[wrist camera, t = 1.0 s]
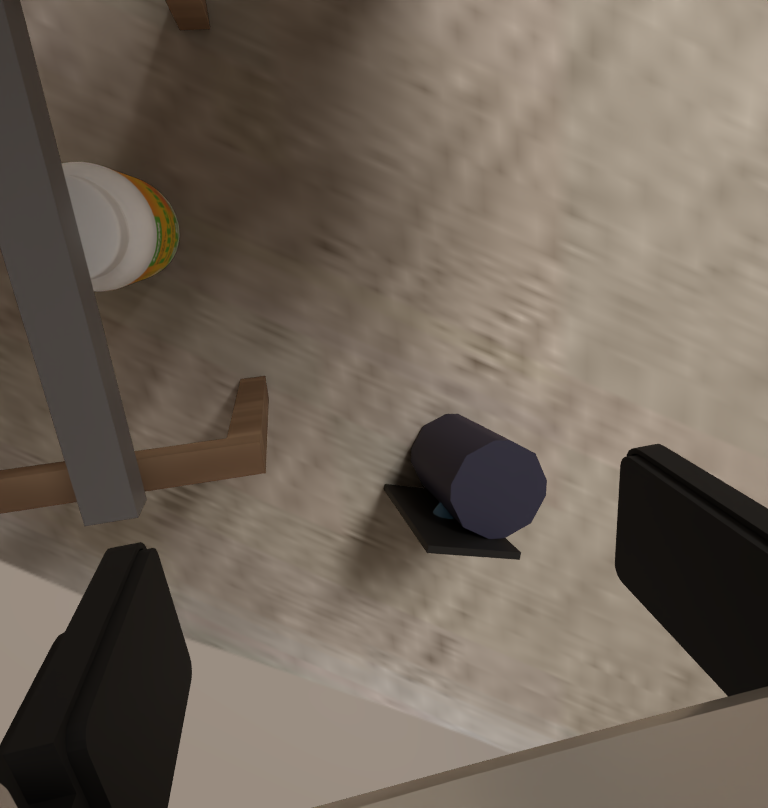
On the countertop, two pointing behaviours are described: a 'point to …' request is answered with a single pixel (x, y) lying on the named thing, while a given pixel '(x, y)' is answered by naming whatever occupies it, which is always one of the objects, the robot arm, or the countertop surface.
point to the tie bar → (59, 291)
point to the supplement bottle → (120, 225)
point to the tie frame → (170, 463)
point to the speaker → (469, 489)
